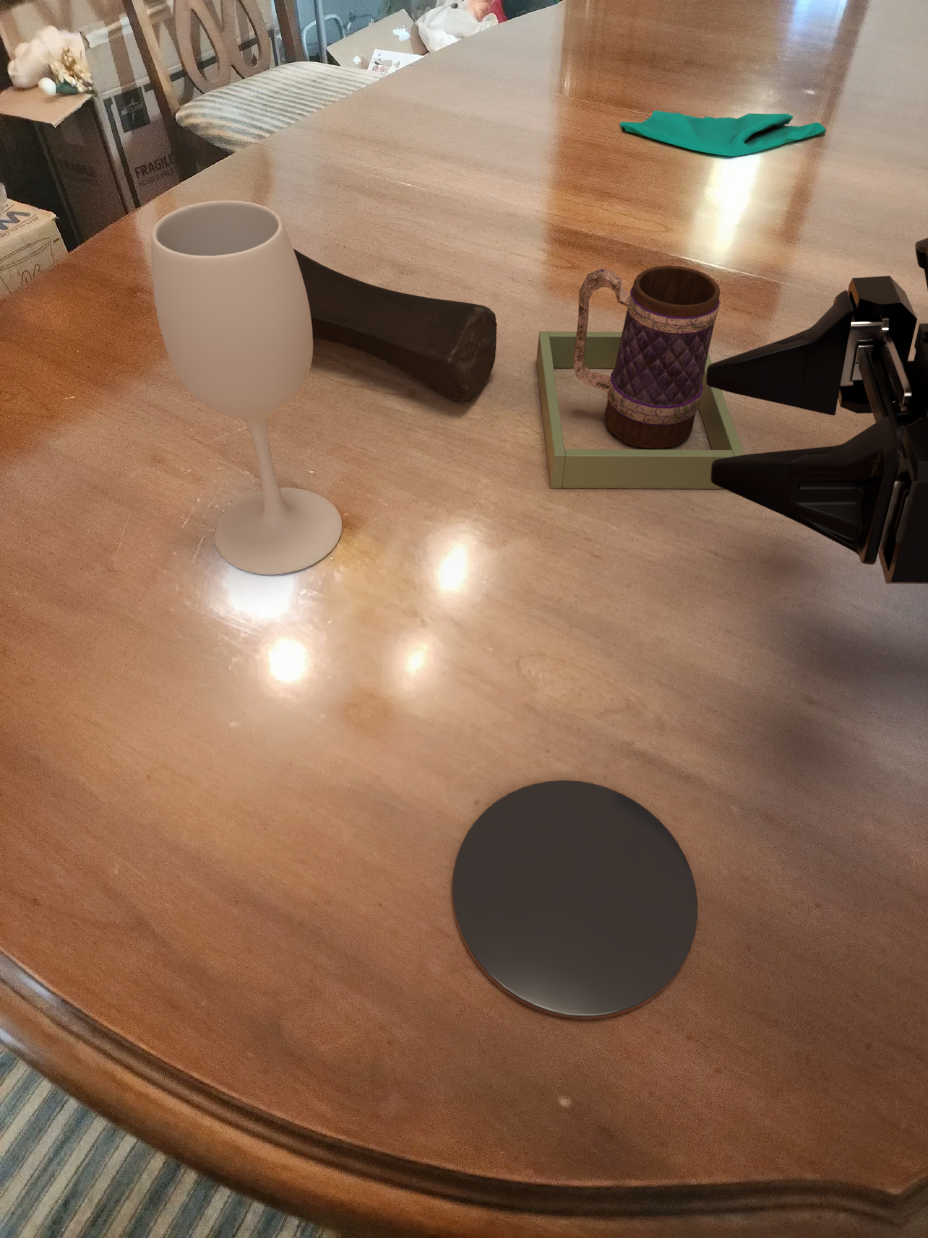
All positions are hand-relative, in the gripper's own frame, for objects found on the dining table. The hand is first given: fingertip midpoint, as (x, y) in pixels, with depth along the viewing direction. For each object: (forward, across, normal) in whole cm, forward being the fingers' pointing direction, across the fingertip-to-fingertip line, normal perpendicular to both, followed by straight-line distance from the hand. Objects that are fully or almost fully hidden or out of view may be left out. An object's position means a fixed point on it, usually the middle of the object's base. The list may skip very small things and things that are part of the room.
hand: (708, 419), depth 43 cm
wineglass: (+28, -4, +11) cm, 30 cm away
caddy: (+5, -22, +13) cm, 26 cm away
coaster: (+6, +18, +16) cm, 24 cm away
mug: (+5, -22, +13) cm, 26 cm away
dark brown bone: (+30, -27, +8) cm, 42 cm away
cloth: (-4, -85, +10) cm, 85 cm away
